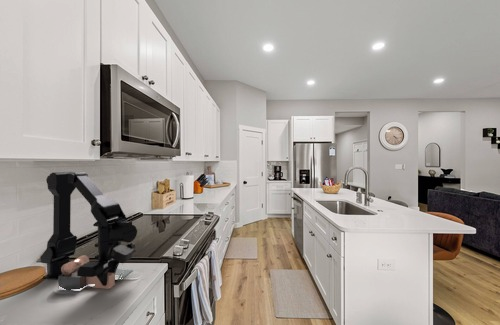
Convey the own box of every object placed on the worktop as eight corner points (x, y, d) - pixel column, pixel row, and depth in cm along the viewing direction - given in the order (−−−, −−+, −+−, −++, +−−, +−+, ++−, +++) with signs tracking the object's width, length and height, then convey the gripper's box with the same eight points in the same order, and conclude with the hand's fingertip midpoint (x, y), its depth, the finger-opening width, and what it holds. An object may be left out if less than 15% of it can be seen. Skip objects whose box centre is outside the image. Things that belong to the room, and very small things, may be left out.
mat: (88, 278, 80) (88, 277, 80) (102, 269, 87) (102, 268, 87) (120, 280, 79) (120, 279, 79) (132, 271, 86) (132, 270, 86)
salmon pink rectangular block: (83, 286, 75) (83, 274, 75) (89, 282, 78) (89, 271, 78) (109, 289, 74) (109, 276, 74) (114, 284, 77) (114, 272, 77)
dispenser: (58, 290, 73) (58, 264, 73) (79, 277, 81) (79, 254, 81) (79, 291, 72) (79, 265, 72) (98, 278, 80) (98, 255, 80)
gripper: (108, 251, 65) (108, 302, 65) (145, 231, 84) (145, 270, 84) (75, 249, 66) (75, 299, 67) (118, 230, 85) (118, 269, 85)
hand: (108, 283), depth 76 cm, fingers open, 3 cm apart
